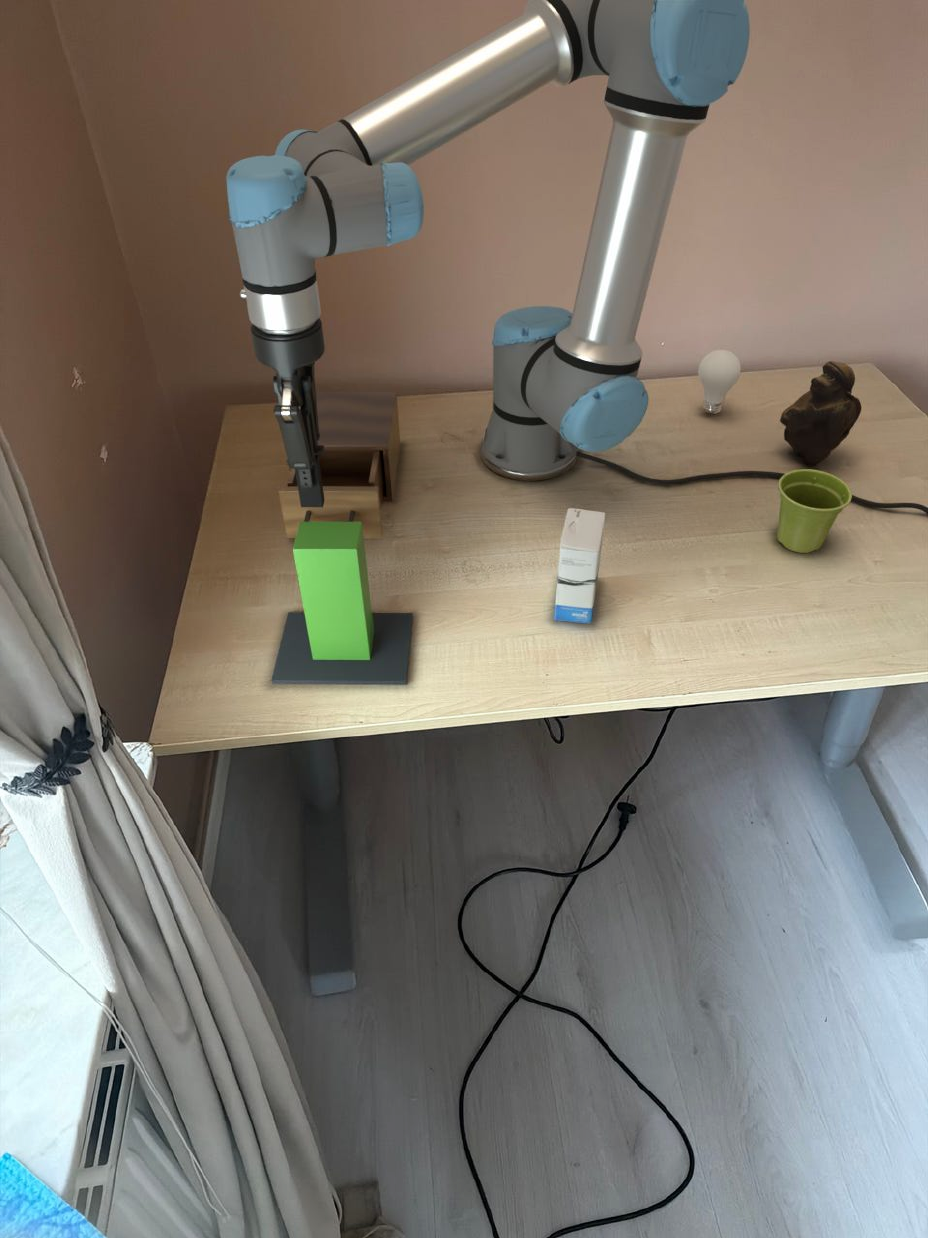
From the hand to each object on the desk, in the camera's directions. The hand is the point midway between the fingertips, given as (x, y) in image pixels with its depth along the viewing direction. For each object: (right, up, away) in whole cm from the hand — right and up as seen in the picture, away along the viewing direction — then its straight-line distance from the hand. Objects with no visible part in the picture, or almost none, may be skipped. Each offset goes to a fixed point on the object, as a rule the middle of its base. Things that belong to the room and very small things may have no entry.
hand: (312, 503), depth 111 cm
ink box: (+33, -12, +6) cm, 36 cm away
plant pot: (+66, -3, +14) cm, 67 cm away
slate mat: (+4, -18, 0) cm, 18 cm away
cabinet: (+1, +9, +28) cm, 30 cm away
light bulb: (+60, +20, +40) cm, 75 cm away
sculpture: (+73, +11, +29) cm, 79 cm away
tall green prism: (+4, -18, -1) cm, 18 cm away
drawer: (+1, 0, +18) cm, 18 cm away
